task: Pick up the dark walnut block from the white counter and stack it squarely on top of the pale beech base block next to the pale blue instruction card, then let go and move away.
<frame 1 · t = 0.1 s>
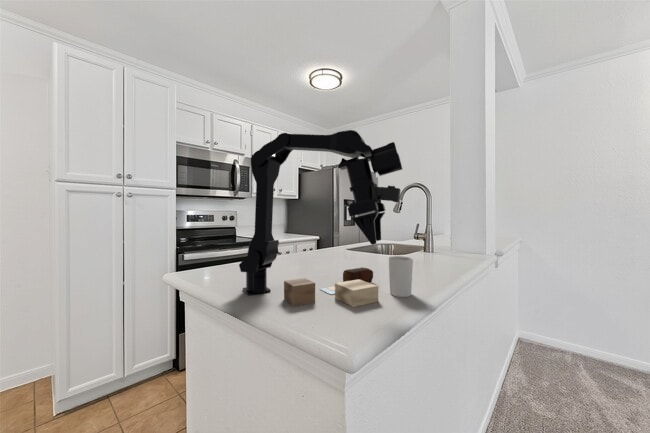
hand: (376, 242, 67), 15 cm above the countertop, tool pointing down, fingers open, 9 cm apart
brick: (358, 284, 86), on the countertop, touching instruction card
walnut block: (299, 301, 70), on the countertop
drinking glass: (400, 294, 76), on the countertop
instruction card: (338, 289, 80), on the countertop
base block: (356, 299, 71), on the countertop
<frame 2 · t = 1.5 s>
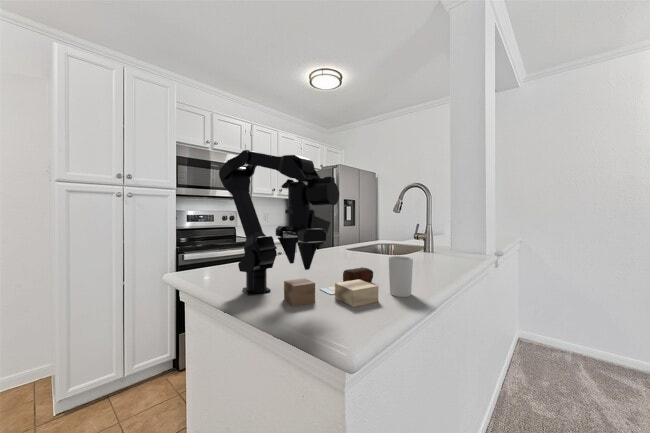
hand: (299, 266, 70), 9 cm above the countertop, tool pointing down, fingers open, 9 cm apart
nothing on the countertop moved.
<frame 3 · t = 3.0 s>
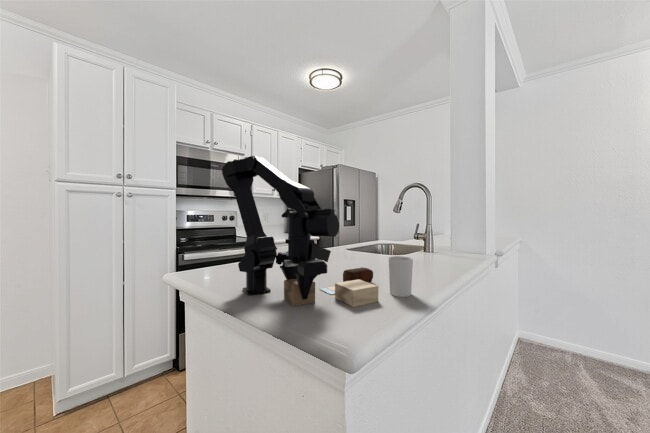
hand: (299, 295, 70), 1 cm above the countertop, tool pointing down, fingers closed on walnut block, 6 cm apart
walnut block: (299, 300, 70), on the countertop, touching gripper
everything else where it was.
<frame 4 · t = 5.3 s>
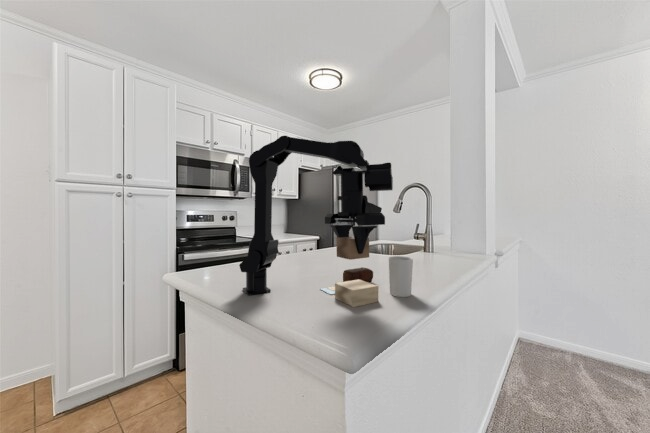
hand: (352, 252, 71), 12 cm above the countertop, tool pointing down, fingers closed on walnut block, 6 cm apart
walnut block: (352, 256, 71), point 11 cm above the countertop, touching gripper
everything else where it was.
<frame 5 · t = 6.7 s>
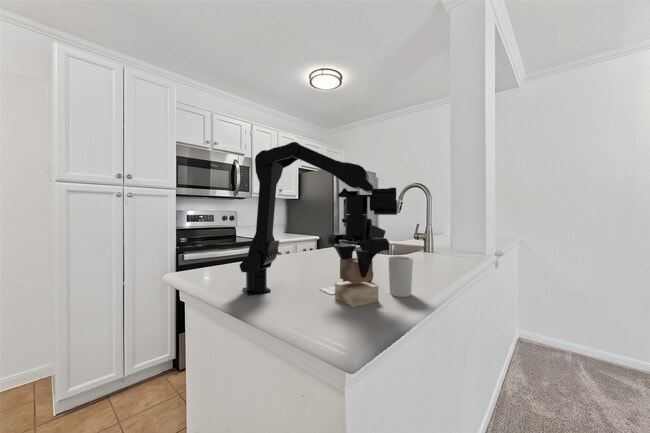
hand: (356, 274, 71), 7 cm above the countertop, tool pointing down, fingers closed on walnut block, 6 cm apart
walnut block: (355, 279, 71), point 5 cm above the countertop, touching gripper
everything else where it was.
when the fingers open (6 cm above the countertop, at t = 7.6 s): walnut block drops 1 cm, resting on base block.
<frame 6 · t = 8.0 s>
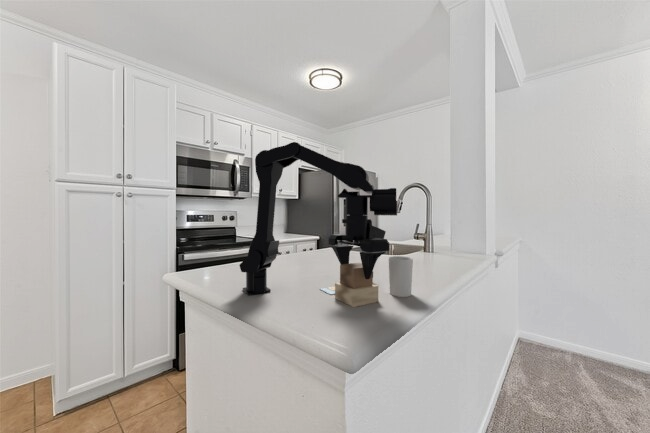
hand: (356, 275, 71), 6 cm above the countertop, tool pointing down, fingers open, 9 cm apart
walnut block: (356, 284, 71), point 4 cm above the countertop, touching base block
everything else where it was.
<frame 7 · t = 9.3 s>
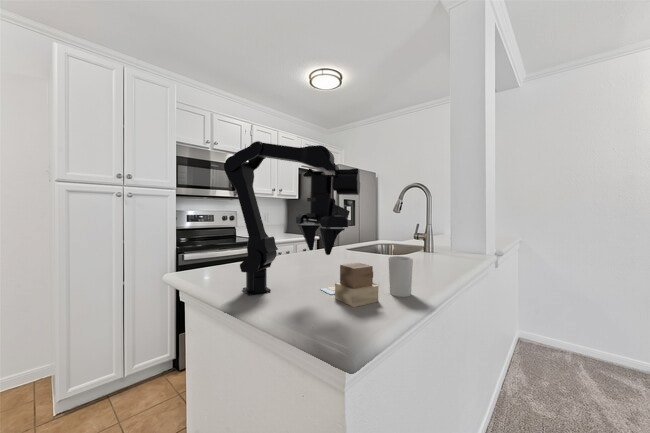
hand: (319, 252, 74), 12 cm above the countertop, tool pointing down, fingers open, 9 cm apart
nothing on the countertop moved.
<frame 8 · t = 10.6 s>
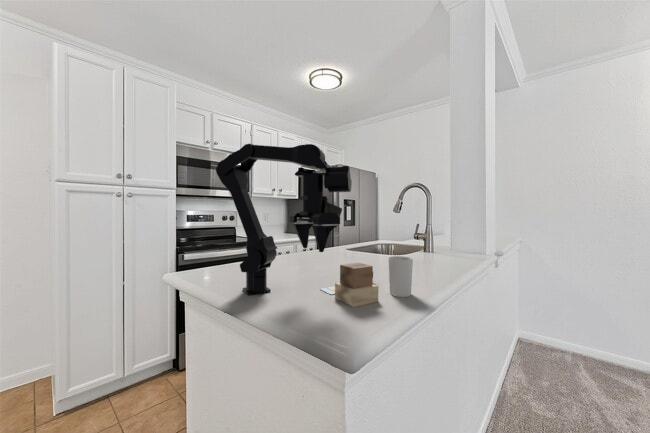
hand: (312, 249, 74), 13 cm above the countertop, tool pointing down, fingers open, 9 cm apart
nothing on the countertop moved.
at the end: walnut block inside the target area on the base block (0.1 cm from its centre), point 4.0 cm above the base block's base; walnut block tilted 0°; the gripper is holding nothing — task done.
